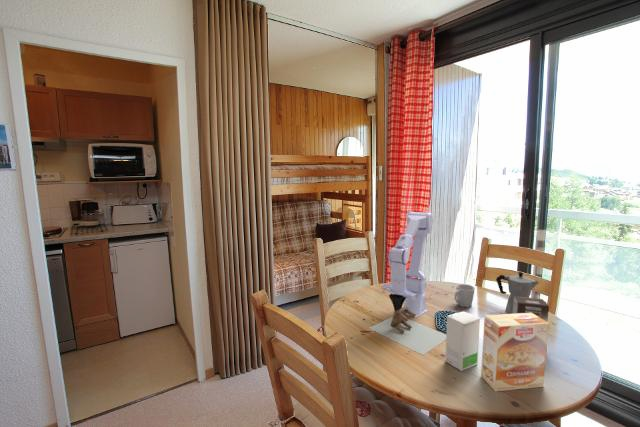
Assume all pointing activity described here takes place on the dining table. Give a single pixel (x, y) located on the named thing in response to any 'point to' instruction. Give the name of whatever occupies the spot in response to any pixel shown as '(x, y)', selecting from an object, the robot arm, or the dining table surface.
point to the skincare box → (462, 340)
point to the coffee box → (531, 306)
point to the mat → (411, 335)
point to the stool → (401, 318)
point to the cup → (464, 295)
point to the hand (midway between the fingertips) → (397, 312)
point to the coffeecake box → (514, 351)
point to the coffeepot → (516, 288)
